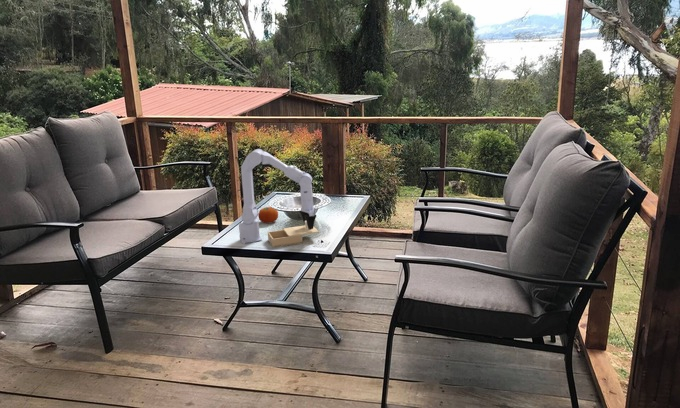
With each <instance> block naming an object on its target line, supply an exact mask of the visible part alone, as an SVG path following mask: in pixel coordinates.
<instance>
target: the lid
mask: <svg viewBox="0 0 680 408" xmlns="http://www.w3.org/2000/svg"><path fill="white" fill-rule="evenodd" d="M282 230H284V231H285V233H286V234H287V235H288V236H289V237H292V236H299V235H302V236H304V235H312V234H317V233H319V232H320V230H318V229H317V228H316V227H315V225H314V226H313V229H308V225H307V221H305V225H299V226H297V225H296V226H293V227H291V226H289V227H284V228H283V229H282Z"/></svg>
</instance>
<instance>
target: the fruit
mask: <svg viewBox="0 0 680 408" xmlns="http://www.w3.org/2000/svg"><path fill="white" fill-rule="evenodd" d="M272 207H273V206H267V207H266V206H265V207H263V208H261V209H260V210H258V216H257V217H258V219H259V220H258V221H260V222H262V223H264V224H270V223H273V222H275V221H277V220H278V218H279V211H278V209H276V208H275V209H276V210H275V209H273V208H274V207H273V208H272Z"/></svg>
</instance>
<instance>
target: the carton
mask: <svg viewBox="0 0 680 408" xmlns="http://www.w3.org/2000/svg"><path fill="white" fill-rule="evenodd" d="M267 240H268V241H269V244H270V245H271V246H273V247H274V248H280V247H286V246H293V245H298V244H299V245H300V244H303V235H299V236H292V237H289V236H288V235H287V234H286V233H285V231H284V230H283V229H279V230H272V231H267ZM273 247H272V248H273Z"/></svg>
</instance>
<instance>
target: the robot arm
mask: <svg viewBox="0 0 680 408" xmlns="http://www.w3.org/2000/svg"><path fill="white" fill-rule="evenodd" d="M260 164H261V165H271V166H272V167H274V168H276V169H278V170H280V171H282V172H283V173H284V176H285V177H287V178H289V179H290V180H292V181H293V182H295V183H298V185H299V186H300V192H299V193H300V204H301V206H300V207H301V208H300V210H299V213H300V215H301V217H302V221H303V224H304V225H305V221H307V225H308V229H313V226H314V227H315V221H316V218H317V214H314V210H317V208H316V207H315V206H314V198H313V197H314V195H313V186H312V182H313V177H312V175H311V174H309V173H308V172H306V171H305V170H304V171H302V170H300V168H298V167H297V166H296V165H292V164H291V165H287V164H285V162H283V161H281V160H279V159H278V158H277V157H275V156H273V155H272V154H271V153H269V152H267V151H264V150H263V149H262V148H257V149H256V148H255V149H254V150H253V151H251V152H250V153H249V154H247V155H246V157H245V159H244V161H243V163H242V164H241V166H240V170H241V184H242V194H243V195H242V197H243V205H242V206H243V207H242V214H241V221H242V222H241V223H239V224H238V229H239V232H238V233H239V239H240V241H241V244H246V243H256V242H260V241H262V237H261V235H260V225H259V224H260V223H259V220H258V219H259V218H257V217H258V214H259V210H258V208H257V204H256V202H255V193H254V192H255V189H254V177H253V169H254V168H255V167H256V166H258V165H260ZM304 225H303V226H304Z"/></svg>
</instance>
